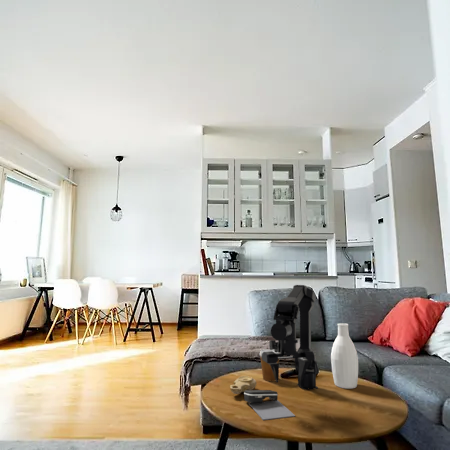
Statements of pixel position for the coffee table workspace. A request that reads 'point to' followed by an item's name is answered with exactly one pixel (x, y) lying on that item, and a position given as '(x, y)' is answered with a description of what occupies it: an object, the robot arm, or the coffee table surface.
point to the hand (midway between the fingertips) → (288, 381)
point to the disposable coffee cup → (267, 367)
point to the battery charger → (259, 395)
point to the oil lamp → (243, 384)
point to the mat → (271, 410)
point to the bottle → (344, 359)
